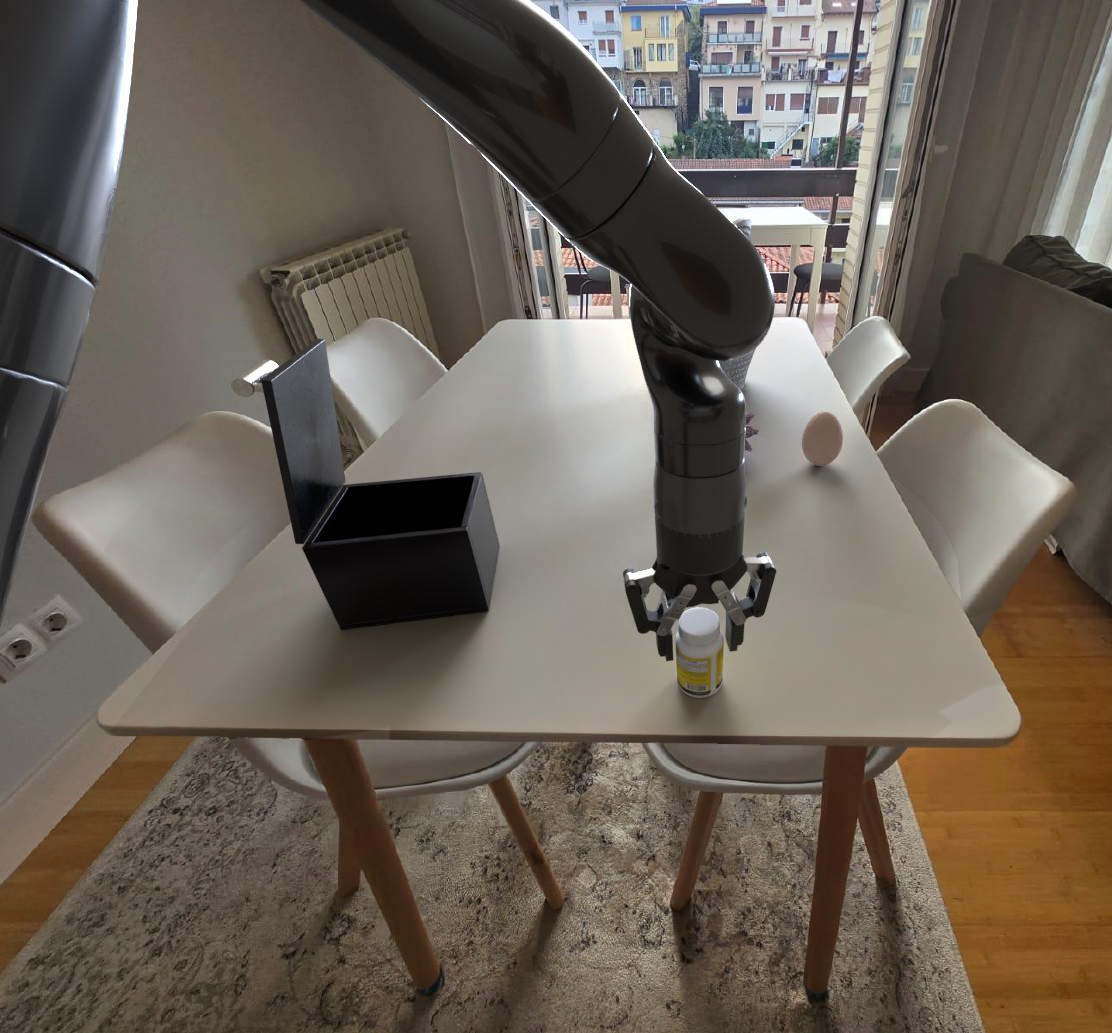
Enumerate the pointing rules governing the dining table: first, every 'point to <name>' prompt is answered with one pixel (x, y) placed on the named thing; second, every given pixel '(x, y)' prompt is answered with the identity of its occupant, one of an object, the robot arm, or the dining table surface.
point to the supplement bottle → (699, 652)
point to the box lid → (301, 431)
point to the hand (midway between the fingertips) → (699, 649)
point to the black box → (406, 550)
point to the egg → (822, 439)
